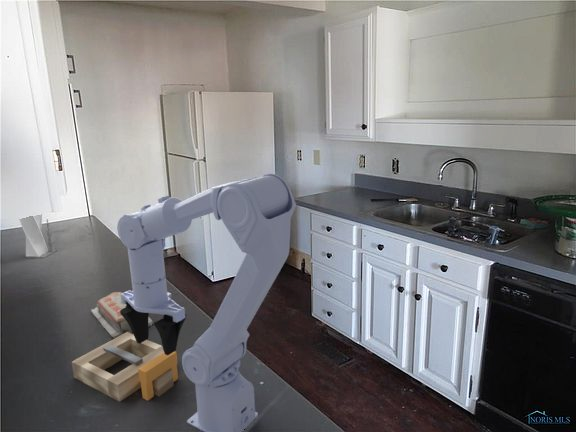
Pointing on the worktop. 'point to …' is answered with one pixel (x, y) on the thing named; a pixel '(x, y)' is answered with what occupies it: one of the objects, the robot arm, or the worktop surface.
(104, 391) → the birch drawer
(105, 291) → the worktop surface
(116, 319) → the packaged product
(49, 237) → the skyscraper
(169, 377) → the wooden cube
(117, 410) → the worktop surface
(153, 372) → the wooden block
